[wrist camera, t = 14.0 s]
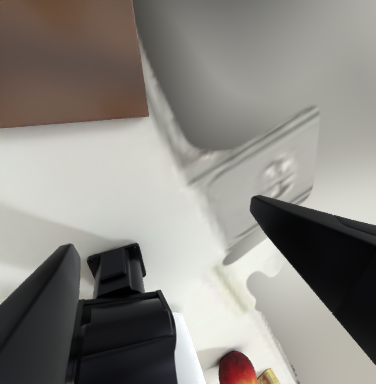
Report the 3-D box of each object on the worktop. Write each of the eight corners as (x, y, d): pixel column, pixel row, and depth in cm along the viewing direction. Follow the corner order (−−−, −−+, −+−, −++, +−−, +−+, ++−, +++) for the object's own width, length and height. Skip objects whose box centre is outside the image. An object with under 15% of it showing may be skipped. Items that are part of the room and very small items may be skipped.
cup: (151, 303, 30) (174, 430, 19) (189, 304, 35) (228, 407, 23) (131, 336, 32) (140, 470, 20) (170, 333, 36) (196, 442, 25)
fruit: (243, 354, 58) (265, 396, 49) (214, 372, 55) (232, 420, 47) (243, 340, 53) (267, 384, 44) (211, 359, 50) (230, 410, 42)
